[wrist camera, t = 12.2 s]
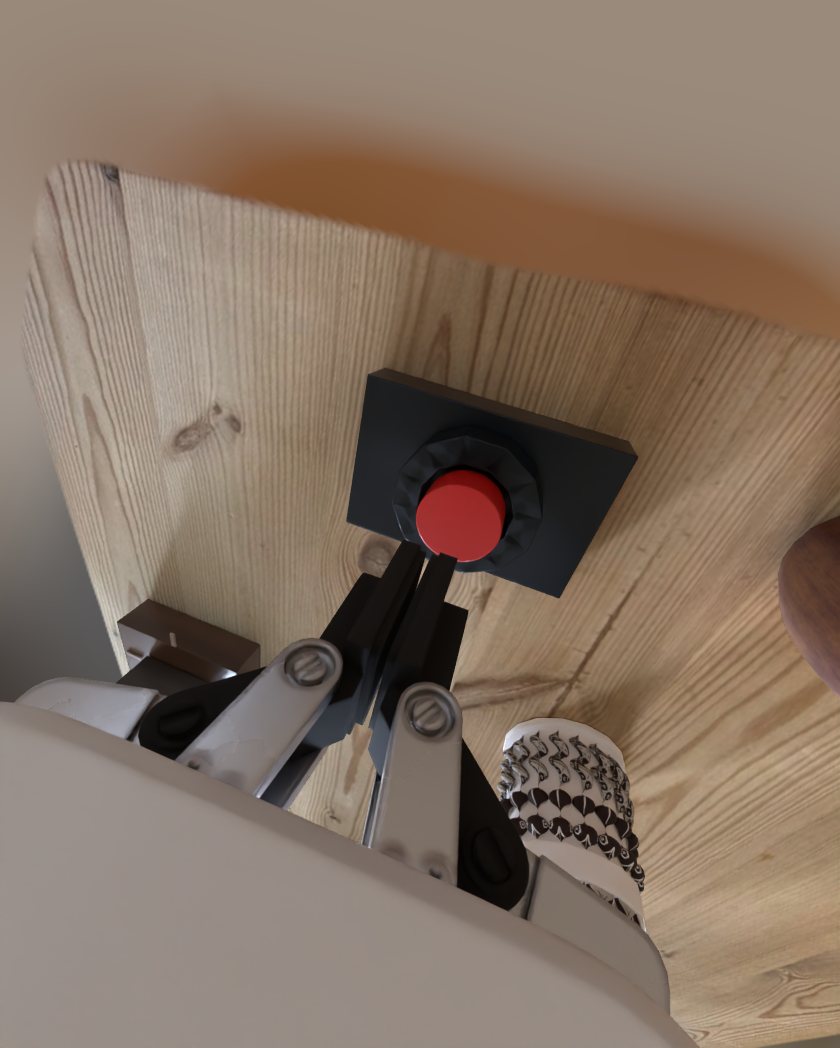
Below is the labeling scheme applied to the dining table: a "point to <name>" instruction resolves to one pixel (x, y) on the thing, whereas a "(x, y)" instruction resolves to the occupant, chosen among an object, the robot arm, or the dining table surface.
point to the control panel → (185, 643)
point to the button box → (486, 474)
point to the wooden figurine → (814, 599)
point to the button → (462, 515)
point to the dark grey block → (159, 677)
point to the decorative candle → (574, 806)
